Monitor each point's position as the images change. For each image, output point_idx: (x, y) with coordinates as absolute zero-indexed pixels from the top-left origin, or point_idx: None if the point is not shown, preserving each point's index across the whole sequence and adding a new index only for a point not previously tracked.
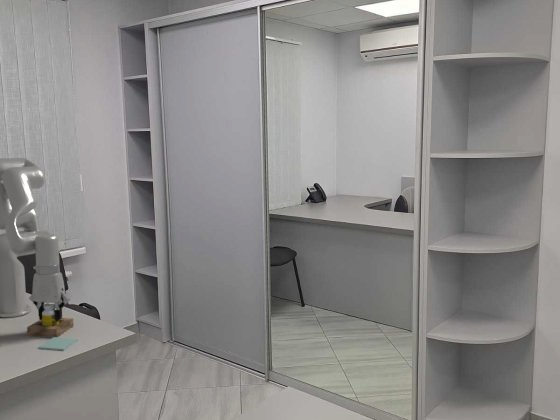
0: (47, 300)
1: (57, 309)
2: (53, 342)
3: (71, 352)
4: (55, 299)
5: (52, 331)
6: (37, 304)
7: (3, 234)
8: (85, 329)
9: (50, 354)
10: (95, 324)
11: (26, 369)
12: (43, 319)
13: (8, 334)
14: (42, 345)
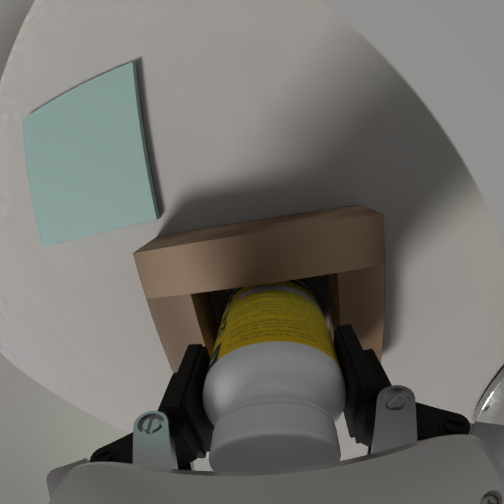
0: (205, 497)
1: (163, 419)
2: (101, 150)
3: (3, 125)
4: (78, 490)
5: (170, 243)
6: (411, 420)
7: None
8: (125, 371)
9: (52, 60)
10: None
11: None
12: (297, 320)
13: (461, 188)
14: (126, 87)
